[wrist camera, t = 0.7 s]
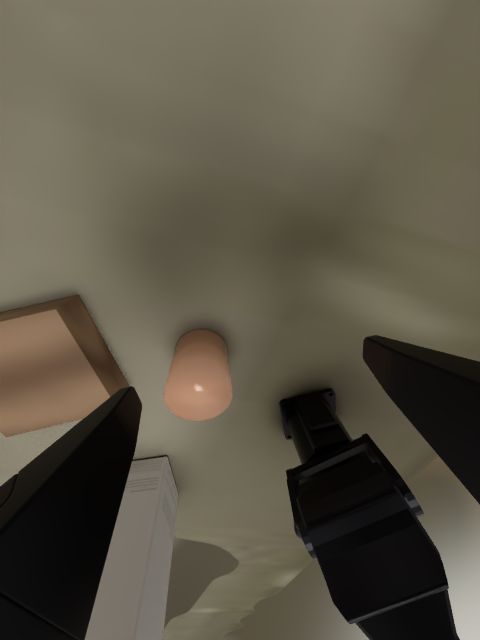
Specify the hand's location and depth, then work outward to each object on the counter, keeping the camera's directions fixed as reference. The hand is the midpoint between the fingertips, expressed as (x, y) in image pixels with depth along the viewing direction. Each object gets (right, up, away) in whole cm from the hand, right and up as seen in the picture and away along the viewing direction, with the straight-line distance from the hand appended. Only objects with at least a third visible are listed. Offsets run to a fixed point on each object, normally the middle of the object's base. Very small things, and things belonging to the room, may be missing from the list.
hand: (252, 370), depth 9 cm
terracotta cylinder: (-4, -1, +13) cm, 14 cm away
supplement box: (-14, -19, +21) cm, 31 cm away
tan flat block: (-17, -2, +12) cm, 21 cm away
